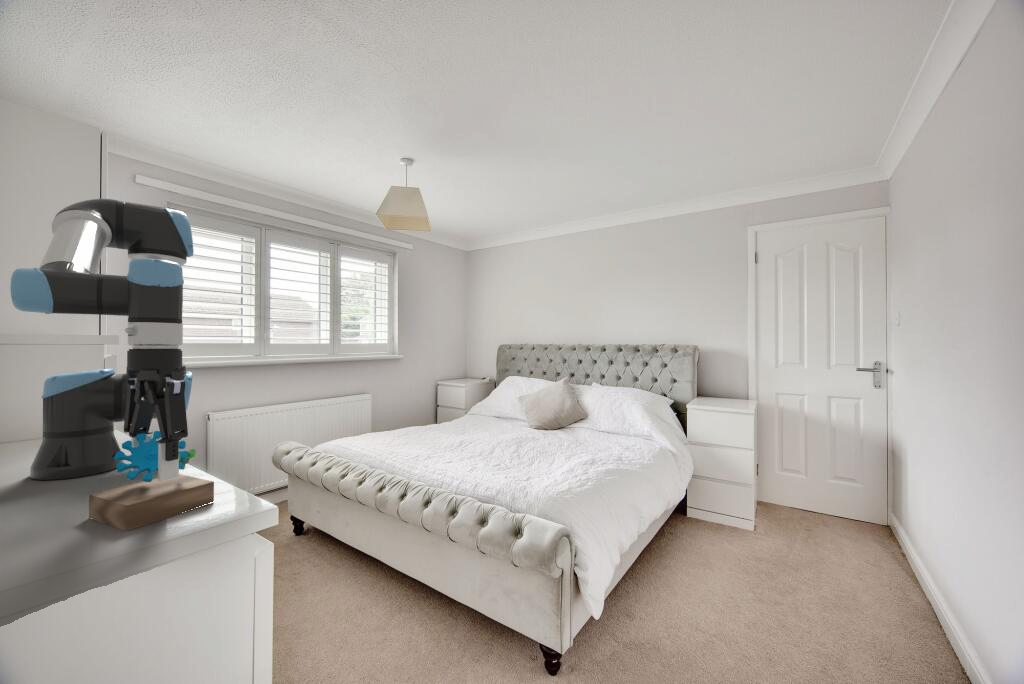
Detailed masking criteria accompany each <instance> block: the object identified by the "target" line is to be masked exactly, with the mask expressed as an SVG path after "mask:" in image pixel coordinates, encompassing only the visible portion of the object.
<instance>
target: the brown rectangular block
mask: <svg viewBox="0 0 1024 684" xmlns="http://www.w3.org/2000/svg"><path fill="white" fill-rule="evenodd" d="M213 501H214V502H215V482H214V481H213V480H210V479H209V480H207V479H204V478H199V477H195V476H190V475H187V474H186V475H185V474H181V473H179V477H176V478H172V479H168V480H164V481H158V477H156V478H153V479H152V481H151V482H144V481H140V482H135V483H132V484H127V485H123V486H119V487H118V486H117V487H114V488H110V489H106V490H102V491H101V490H100V491H98V492H94V493H89V495H88V519H90V518H92V519H91V520H93V519H94V520H93V521H96V520H97V521H96V522H99V523H102V524H105V525H106V526H107V525H108V526H111V527H113V528H116V529H119V530H122V531H125V532H128V531H131V530H135V529H137V528H141V527H143V526H147V525H150V524H153V523H157V522H159V521H163V520H165V519H166V520H167V519H169V518H172V517H175V516H174V515H176V516H178V515H177V514H179V515H181V514H180V513H182V512H185V511H188V510H191V509H194V508H196V507H199V506H202V505H204V504H208V503H210V502H213ZM194 510H195V509H194ZM191 511H192V510H191ZM188 512H189V511H188ZM185 513H186V512H185ZM182 514H183V513H182ZM171 516H172V517H171Z"/></svg>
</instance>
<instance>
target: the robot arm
mask: <svg viewBox="0 0 1024 684" xmlns="http://www.w3.org/2000/svg"><path fill="white" fill-rule="evenodd" d="M51 231H52V234H53V236H52V238H51V241H50V243H49V246H47V250H46V252H45V254H44V256H43V259H42V260H41V262H40V265H39V267H33V268H32V267H31V268H29V267H28V268H27V267H20V268H16V269H15V270H13V272H12V273H11V276H10V277H11V278H10V287H9V288H10V289H9V290H10V299H11V302H12V305H13V307H14V308H15V309H17V310H18V311H21V312H26V313H27V312H29V313H40V314H46V315H50V314H57V315H59V314H62V315H68V314H69V315H95V316H98V315H101V316H118V317H119V316H123V317H128V318H127V327H126V328H125V329H124V332H125V334H127V345H128V346H132V347H131V348H129V349H128V350H127V353H126V366H125V367H126V373H116V371H115V369H114V368H110V367H109V368H103V369H102V368H101V369H92V370H89V369H88V370H83V371H82V370H81V371H75V372H69V373H61V374H55V375H54V374H53V375H51V376H49V377H47V378H46V379H45V380H44V383H43V392H42V396H41V399H42V440H41V444H40V446H39V448H38V450H37V452H36V454H35V456H34V459H33V461H32V464H31V466H30V469H29V470H30V471H29V473H30V475H29V478H30V479H32V480H36V479H37V480H42V481H46V480H47V481H48V480H49V481H50V480H52V481H53V480H63V479H73V478H79V477H85V476H91V475H95V474H101V473H104V472H108V471H111V470H114V469H117V464H118V463H124V460H119V461H117V460H115V459H114V456H115V455H116V453H117V452H118V451H122V450H121V449H122V448H121V447H120V444H119V443H118V440H117V438H116V436H115V432H114V431H115V428H114V427H115V426H114V425H115V423H118V422H119V423H120V422H124V423H123V433H128V436H129V437H130V438H131V440H130V441H131V442H132V447H133V448H136V447H138V446H139V442H138V441H137V440H136V436H137V434H146V439H145V440H144V441H143V442H149V441H150V440H151V439H152V438H153V436H152V435H153V433H154V432H153V431H152V429H151V428H150V427H151V423H152V420H155V419H156V420H157V421H156V422H157V424H158V429H159V431H160V434H161V438H159V439H157V440H156V441H157V443H158V470H157V478H158V481H164V480H168V479H172V478H176V477H179V474H180V472H179V470H180V469H179V451H180V449H179V442H180V441H182V439H183V438H187V437H188V436H189V431H188V419H187V410H188V406H189V402H190V398H191V397H190V396H191V393H192V387H193V386H192V385H193V377H194V376H193V375H194V374H193V372H192V371H189V370H188V371H187V366H186V364H185V363H184V362H183V350H182V349H181V348H179V347H180V346H182V345H183V341H184V340H183V338H184V337H183V336H184V335H183V334H184V333H183V332H184V331H183V330H184V323H183V302H184V299H183V298H184V284H185V283H184V282H185V280H184V276H183V273H184V272H183V266H184V265H185V264H187V258H190V257H193V256H194V242H193V241H194V240H193V233H192V228H191V222H190V219H189V216H188V215H187V214H186V213H184V211H180V210H176V209H172V208H167V207H164V206H163V207H161V206H155V205H148V204H141V203H135V202H129V201H124V200H117V199H111V198H94V199H86V200H83V201H79V202H78V201H77V202H75V203H72V204H70V205H67V206H66V207H64V208H63V209H61V210H60V211H58V212H57V213H56V214H55V216H54V218H53V219H52V222H51ZM105 248H113V249H119V250H120V249H121V250H127V258H128V259H130V261H129V262H128V271H127V274H126V275H118V274H117V275H116V274H114V275H113V274H105V273H104V274H103V273H98V272H99V268H100V263H101V259H102V255H103V250H104V249H105ZM130 455H132V453H131V452H130ZM131 463H132V462H130V464H131ZM137 470H139V469H138V468H131V469H130V471H137ZM143 473H148V471H145V472H142V473H141V474H143Z"/></svg>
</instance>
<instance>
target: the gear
mask: <svg viewBox="0 0 1024 684" xmlns="http://www.w3.org/2000/svg"><path fill="white" fill-rule="evenodd" d="M152 435H153V436H152V439H151V440H150V441H149V442H143V441H144V440H145V439H146V436H147V435H146V434H137V436H136V440H137V441H138V442H139V446H138V447H136V448H133V447H132V442H131V440H126V441H124V442H122V443H121V449H123V450H127V451H128V452H130V454H129V455H126V454H125V452H124V451H123V450H121V451H118V452H117V453H116V455H115V456H114V459H115V460H117V461H119V460H123V461H128V462H130V463H125V462H123V463H118V464H117V468H116V472H117V473H123V472H125V471H126V470H129V469H130V470H129V471H128V472H126V478H127V479H128V480H129V481H134V480H135V479H136V478H137V476H139V475H140V474H143V473H146V472H145V471H148V472H147V473H146V474H143V476H142V481H141V482H143V481H144V482H151V481H152V479H154V474H155V472H158V443H157V441H158V440H160V439H162V438H161V434H160V430H155V431H154V432H153V433H152ZM186 446H187V443H186V441H185V440H179V470H182V471H183V470H185V468H186V465H187V464H189V462H190V459H193V458H195V457H196V454H197V452H196V451H197V450H196V449H194V448H192V449H191V448H190V449H189V450H188V451H187V450H185V449H186ZM181 450H182V451H181ZM131 453H132V455H131ZM131 462H132V463H131ZM131 468H138V469H139V470H137V471H131ZM142 472H143V473H142Z"/></svg>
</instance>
